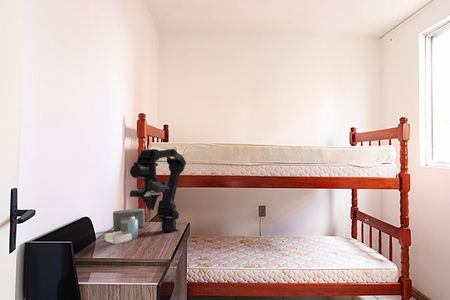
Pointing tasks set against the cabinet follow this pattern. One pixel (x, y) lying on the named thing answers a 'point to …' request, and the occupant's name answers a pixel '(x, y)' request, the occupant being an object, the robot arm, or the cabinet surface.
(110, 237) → the u rest
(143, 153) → the robot arm
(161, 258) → the cabinet surface
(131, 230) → the bottle
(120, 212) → the digital clock
